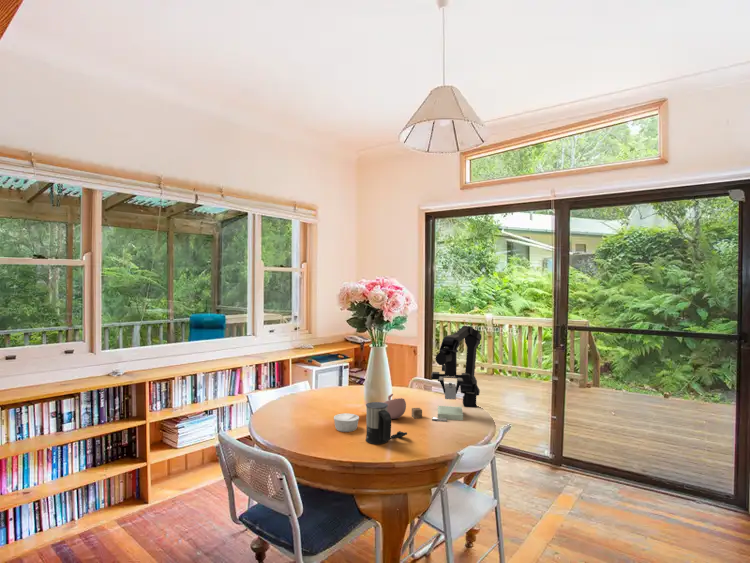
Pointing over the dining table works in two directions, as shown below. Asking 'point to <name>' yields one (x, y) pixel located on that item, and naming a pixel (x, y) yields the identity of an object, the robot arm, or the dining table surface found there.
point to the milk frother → (379, 424)
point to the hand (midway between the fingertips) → (450, 393)
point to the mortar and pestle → (395, 407)
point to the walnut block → (416, 413)
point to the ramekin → (346, 422)
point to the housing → (450, 391)
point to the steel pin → (439, 419)
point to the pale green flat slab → (450, 412)
